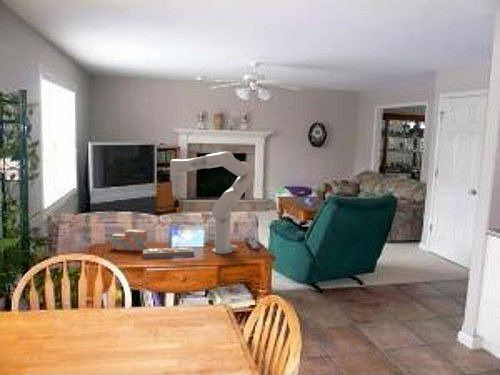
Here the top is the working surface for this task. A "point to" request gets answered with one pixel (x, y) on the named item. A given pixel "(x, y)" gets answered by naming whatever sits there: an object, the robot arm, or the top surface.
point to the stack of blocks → (130, 240)
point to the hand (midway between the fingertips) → (176, 207)
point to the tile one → (152, 250)
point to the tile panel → (167, 253)
